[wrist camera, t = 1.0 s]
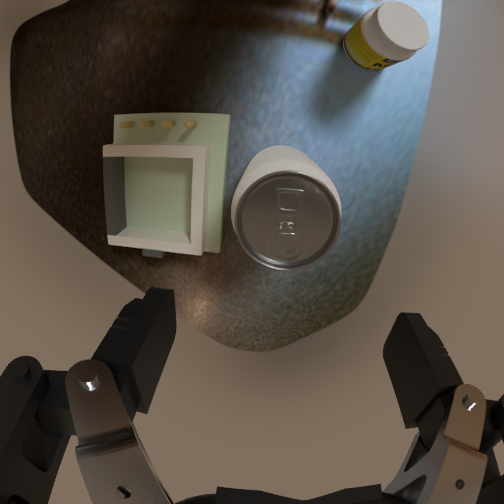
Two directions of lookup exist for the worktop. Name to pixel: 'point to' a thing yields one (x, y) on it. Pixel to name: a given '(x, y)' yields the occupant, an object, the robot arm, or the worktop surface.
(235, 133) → the worktop surface
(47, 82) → the worktop surface
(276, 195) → the can
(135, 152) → the socket board
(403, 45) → the supplement bottle
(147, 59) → the worktop surface
